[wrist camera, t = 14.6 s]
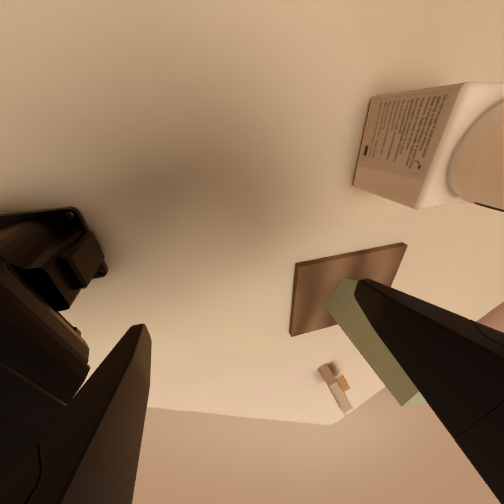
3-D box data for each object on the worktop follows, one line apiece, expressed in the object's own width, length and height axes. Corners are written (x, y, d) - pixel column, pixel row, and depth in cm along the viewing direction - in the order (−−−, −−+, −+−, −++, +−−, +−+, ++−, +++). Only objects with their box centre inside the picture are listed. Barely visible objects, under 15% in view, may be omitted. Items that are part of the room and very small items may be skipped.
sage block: (323, 305, 30) (401, 406, 19) (342, 277, 28) (440, 373, 17) (348, 308, 32) (431, 401, 21) (367, 282, 30) (469, 370, 19)
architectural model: (331, 356, 41) (357, 397, 35) (338, 370, 45) (363, 409, 39) (316, 365, 41) (339, 407, 35) (324, 378, 45) (346, 417, 39)
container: (439, 94, 20) (743, 59, 9) (409, 179, 24) (594, 224, 13) (369, 96, 18) (638, 56, 7) (350, 186, 22) (506, 245, 12)
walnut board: (289, 332, 32) (291, 336, 32) (295, 263, 26) (298, 267, 25) (376, 309, 36) (379, 312, 35) (402, 242, 29) (407, 245, 28)
